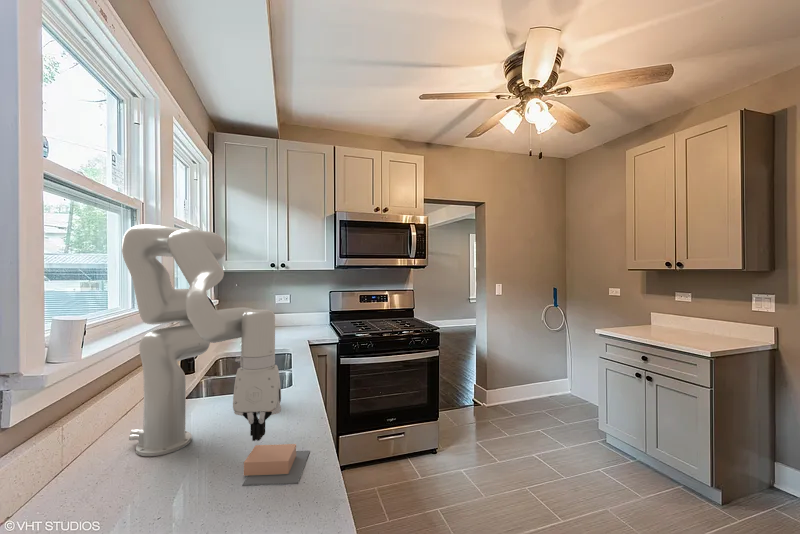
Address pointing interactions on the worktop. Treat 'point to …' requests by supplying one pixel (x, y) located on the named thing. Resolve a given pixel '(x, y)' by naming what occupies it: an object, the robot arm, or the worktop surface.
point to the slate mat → (281, 479)
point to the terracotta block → (270, 460)
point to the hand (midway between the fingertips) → (257, 438)
